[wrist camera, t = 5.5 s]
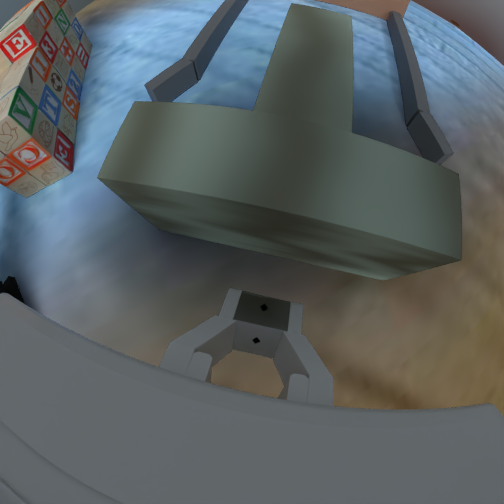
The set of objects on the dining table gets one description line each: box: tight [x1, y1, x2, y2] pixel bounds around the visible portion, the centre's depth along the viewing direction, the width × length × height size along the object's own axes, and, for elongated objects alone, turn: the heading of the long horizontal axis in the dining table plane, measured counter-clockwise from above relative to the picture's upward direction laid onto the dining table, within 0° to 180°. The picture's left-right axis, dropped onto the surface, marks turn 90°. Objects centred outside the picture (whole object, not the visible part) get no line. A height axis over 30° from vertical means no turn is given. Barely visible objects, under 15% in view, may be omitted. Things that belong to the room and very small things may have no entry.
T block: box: [97, 3, 462, 280], centre depth 14 cm, size 15×15×8 cm
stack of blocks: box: [0, 0, 92, 198], centre depth 14 cm, size 21×6×12 cm, turn 16°
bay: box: [145, 0, 453, 165], centre depth 18 cm, size 24×27×6 cm
